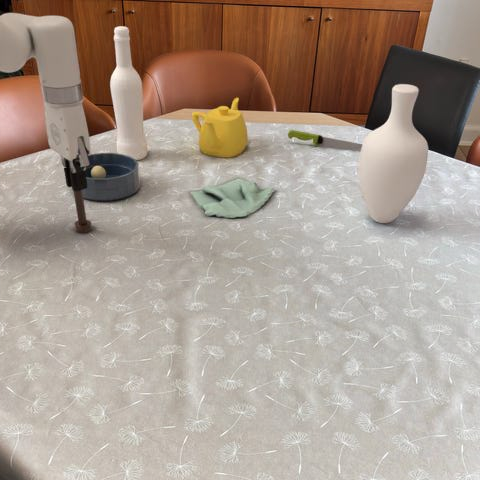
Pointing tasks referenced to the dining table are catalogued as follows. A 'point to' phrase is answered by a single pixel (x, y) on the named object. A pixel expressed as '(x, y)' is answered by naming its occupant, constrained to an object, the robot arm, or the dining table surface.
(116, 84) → the bottle
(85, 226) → the muddler
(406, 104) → the vase
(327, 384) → the dining table surface
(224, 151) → the teapot
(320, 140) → the kitchen knife
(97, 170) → the ball
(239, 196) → the cloth
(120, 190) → the bowl
